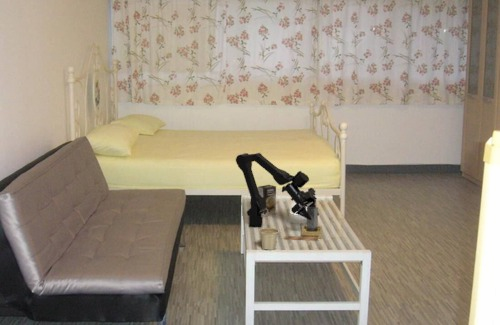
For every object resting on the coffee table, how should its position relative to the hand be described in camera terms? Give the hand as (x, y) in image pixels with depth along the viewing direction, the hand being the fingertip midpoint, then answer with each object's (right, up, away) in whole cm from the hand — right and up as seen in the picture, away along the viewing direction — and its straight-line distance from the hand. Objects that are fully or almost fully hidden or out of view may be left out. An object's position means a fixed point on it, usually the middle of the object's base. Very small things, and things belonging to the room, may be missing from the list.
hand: (314, 217), depth 299 cm
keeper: (-1, -9, +2) cm, 10 cm away
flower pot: (-23, -13, -17) cm, 32 cm away
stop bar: (-1, -9, +2) cm, 9 cm away
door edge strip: (-7, -10, -4) cm, 13 cm away
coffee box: (-23, -2, +42) cm, 48 cm away
